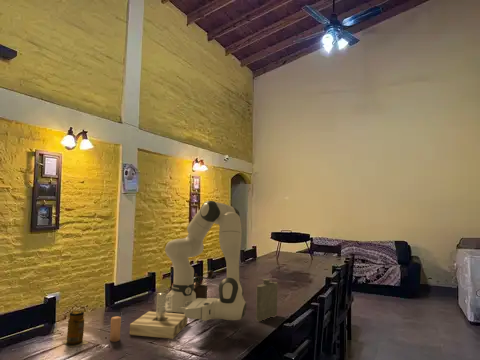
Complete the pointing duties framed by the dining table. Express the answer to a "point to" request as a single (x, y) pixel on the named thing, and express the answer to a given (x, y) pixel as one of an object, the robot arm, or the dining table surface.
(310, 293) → the dining table surface
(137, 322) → the hole block
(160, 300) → the tall metal pin
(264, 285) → the hip flask
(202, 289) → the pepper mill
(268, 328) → the dining table surface
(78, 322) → the condiment
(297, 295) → the dining table surface
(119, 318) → the short terracotta pin
